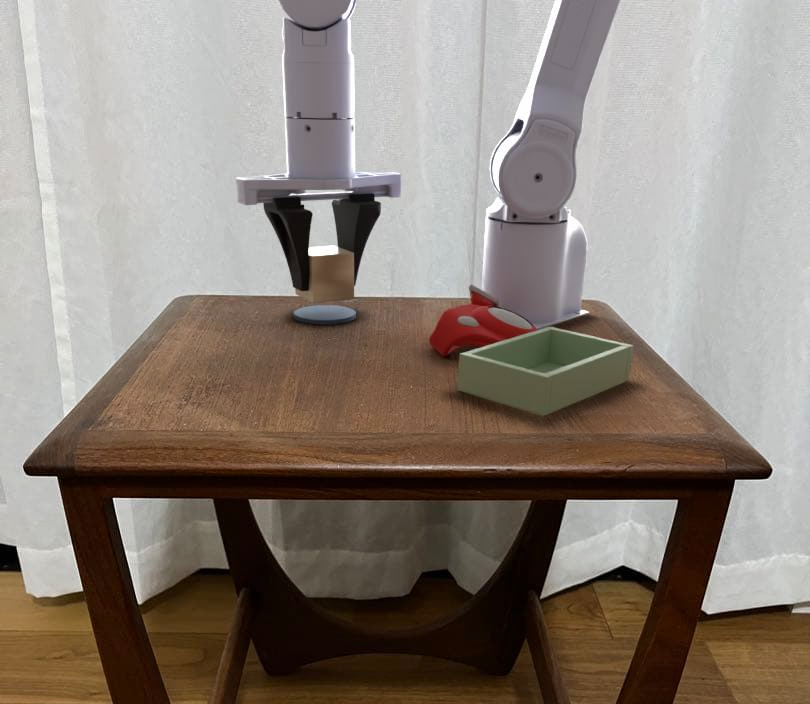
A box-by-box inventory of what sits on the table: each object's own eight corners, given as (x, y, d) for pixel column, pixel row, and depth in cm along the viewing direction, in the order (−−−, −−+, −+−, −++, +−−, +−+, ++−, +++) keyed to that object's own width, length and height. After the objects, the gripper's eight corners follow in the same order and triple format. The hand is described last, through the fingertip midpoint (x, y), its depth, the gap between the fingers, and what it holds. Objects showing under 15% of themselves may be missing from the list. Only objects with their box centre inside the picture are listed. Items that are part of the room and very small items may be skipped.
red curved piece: (581, 345, 68) (486, 330, 62) (557, 394, 70) (462, 385, 64) (495, 279, 76) (402, 261, 70) (475, 326, 78) (384, 312, 72)
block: (335, 290, 81) (334, 245, 79) (354, 299, 78) (354, 252, 76) (295, 294, 79) (293, 248, 77) (313, 303, 76) (311, 256, 74)
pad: (327, 306, 83) (326, 302, 83) (368, 317, 80) (368, 312, 79) (281, 316, 79) (281, 311, 79) (322, 327, 76) (322, 323, 76)
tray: (545, 365, 67) (549, 326, 66) (628, 386, 63) (634, 345, 62) (457, 396, 60) (459, 353, 59) (542, 422, 56) (547, 377, 55)
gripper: (253, 121, 65) (264, 303, 72) (420, 119, 72) (416, 287, 78) (222, 116, 71) (234, 287, 77) (380, 115, 77) (379, 273, 84)
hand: (324, 286), depth 78 cm, fingers closed on block, 4 cm apart
